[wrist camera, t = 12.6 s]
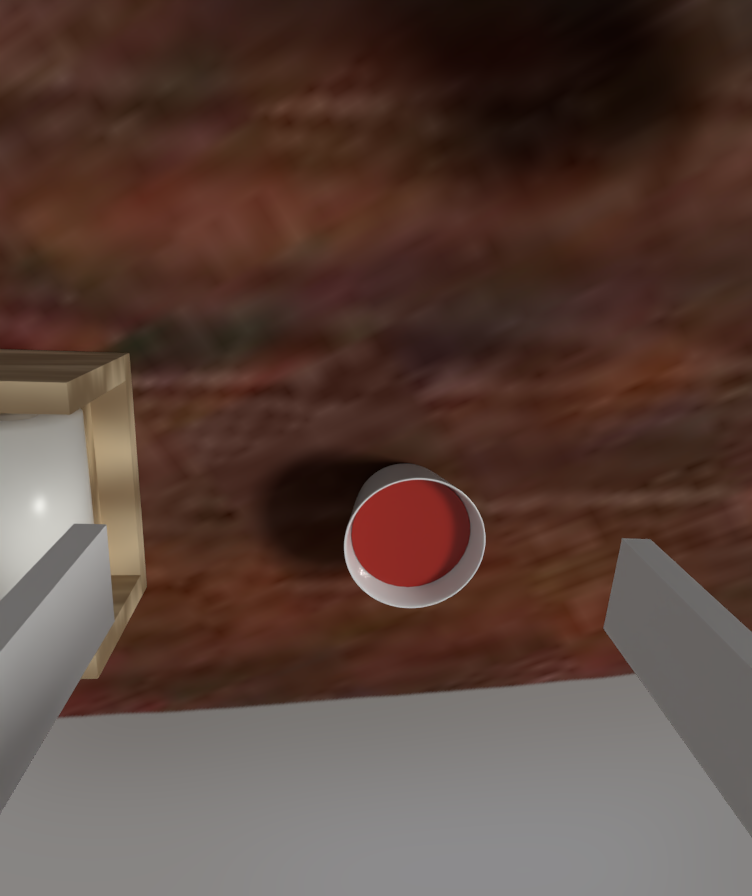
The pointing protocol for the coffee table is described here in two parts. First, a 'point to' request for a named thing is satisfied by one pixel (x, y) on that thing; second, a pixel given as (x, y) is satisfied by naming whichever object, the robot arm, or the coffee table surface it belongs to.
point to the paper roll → (39, 487)
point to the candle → (412, 537)
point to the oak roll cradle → (92, 454)
